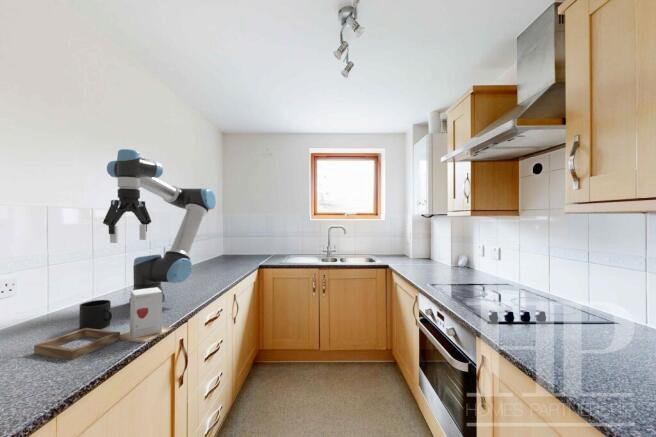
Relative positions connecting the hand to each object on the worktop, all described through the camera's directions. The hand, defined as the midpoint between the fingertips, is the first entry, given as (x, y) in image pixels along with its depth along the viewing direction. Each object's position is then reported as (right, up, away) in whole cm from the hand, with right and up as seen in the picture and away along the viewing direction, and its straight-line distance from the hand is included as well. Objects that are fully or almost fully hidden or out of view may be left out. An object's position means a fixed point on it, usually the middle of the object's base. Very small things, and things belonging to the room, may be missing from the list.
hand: (129, 241), depth 122 cm
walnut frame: (-1, -32, -24) cm, 40 cm away
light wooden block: (+14, -33, -13) cm, 38 cm away
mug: (-8, -33, -6) cm, 34 cm away
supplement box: (+14, -32, -13) cm, 37 cm away
